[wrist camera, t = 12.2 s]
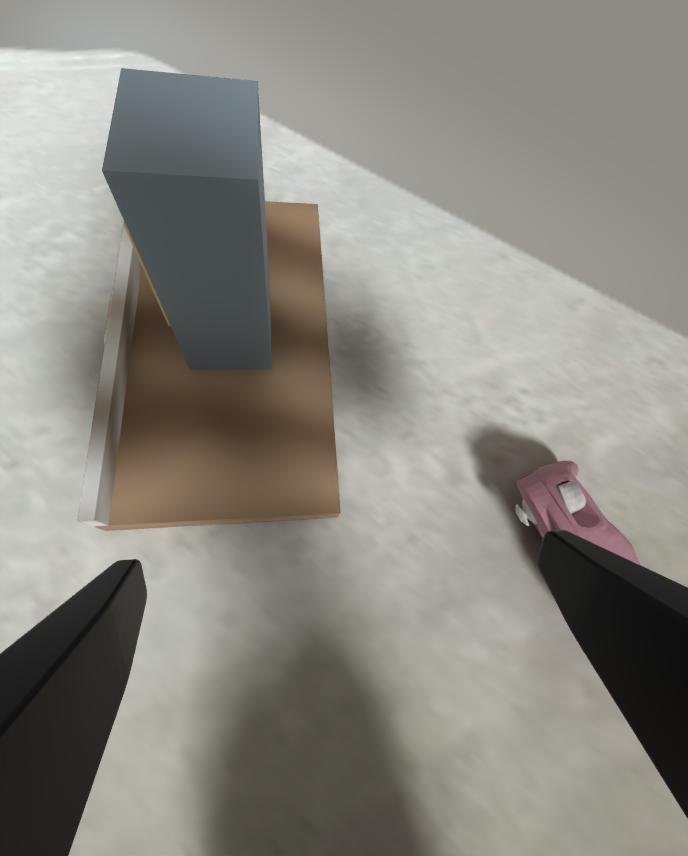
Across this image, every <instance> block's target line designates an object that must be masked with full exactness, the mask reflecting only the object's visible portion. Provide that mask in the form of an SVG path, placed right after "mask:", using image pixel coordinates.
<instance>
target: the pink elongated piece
mask: <svg viewBox="0 0 688 856" xmlns="http://www.w3.org/2000/svg"><path fill="white" fill-rule="evenodd" d="M578 471H579V469H578V467H577V464H575V463H574V462H572V461H560V462H556V463H551V464H547V465H542V466H540V467H539V468H538V469H536V470H535V471H534V472H532V473H531V474H530V475H528V476H526V477H524V478H522V479H520V480H518V481H517V486H518V489H519V492H520V494H521V496H522V500H523V501H522V510H521V508H520V507H519V506H518V504H516V511H515V512H516V514H517V516H518V518H519V519H520V521H521V522H523V523H524V524H525V525H527V526H529V523H528V521H527V519H529V520H530V521H531V522H533V524H534V526H535V528H536V529H537V531H538V533H539V535H540V537H541V538H542V540H543V538H544V535H545V533H546V532H547V531H550V530H566V531H569V532H571V533H573V534H575V535H577V536H579V537H581V538H584V539H586V540H588V541H590V542H592V543H594V544H596V545H598V546H600V547H603V548H605V549H607V550H609V551H611V552H613V553H615V554H617V555H620V556H622V557H624V558H626V559H628V560H630V561H632V562H634V563H636V564H639V565H640V563H639V561H638V558H637V556H636V553H635V551H634V549H633V547H632V545H631V543H630V542H629V541H628V539H627V538H626V537H625V536H624V535H623V534H622V533H621V532H620V531H619V530H618V529H617V528H616V527H615V526H614V525H613V524H611V523H610V522H609V521H608V520H607V519H606V518H605V517H604V515H603V514H602V513H601V511H600V510H599V508H598V507H597V505H596V504H595V502H594V501H593V499H592V498H591V497H590V495H589V494H588V493H587V491H586V490H585V489H584V488H583V487H582V485H581V484H580V483H579V482H578V480H577V479H576V478H575V477H576V476H577V474H578Z"/></svg>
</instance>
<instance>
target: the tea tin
mask: <svg viewBox="0 0 688 856" xmlns="http://www.w3.org/2000/svg"><path fill="white" fill-rule="evenodd" d="M258 96H259V95H258V81H250V80H240V79H229V78H219V77H207V76H197V75H187V74H176V73H165V72H155V71H144V70H134V69H123V68H121V73H120V78H119V83H118V89H117V94H116V99H115V105H114V110H113V115H112V121H111V126H110V131H109V136H108V142H107V147H106V152H105V158H104V163H103V168H102V171H103V174H104V176H105V178H106V181H107V183H108V185H109V187H110V190H111V192H112V194H113V196H114V199H115V201H116V203H117V206H118V208H119V210H120V212H121V215H122V217H123V219H124V221H125V222H124V227H125V230H126V232H127V234H128V236H129V238H130V241H131V243H132V245H133V247H134V250H135V252H136V254H137V256H138V259H139V261H140V263H141V265H142V268H143V270H144V272H145V274H146V276H147V279H148V281H149V283H150V285H151V288H152V290H153V292H154V294H155V297H156V299H157V301H158V303H159V306H160V308H161V310H162V312H163V315H164V317H165V319H166V321H167V323H168V326H171V328H172V330H173V333H174V335H175V337H176V340H177V342H178V344H179V346H180V349H181V351H182V353H183V355H184V358H185V360H186V362H187V365H188V367H189V369H190V370H255V369H272V351H271V299H270V282H269V265H268V248H267V231H266V214H265V197H264V180H263V163H262V146H261V129H260V112H259V97H258Z"/></svg>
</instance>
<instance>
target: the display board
mask: <svg viewBox="0 0 688 856" xmlns="http://www.w3.org/2000/svg"><path fill="white" fill-rule="evenodd" d="M265 214H266V231H267V248H268V265H269V282H270V299H271V351H272V369H255V370H190V369H189V367H188V365H187V362H186V360H185V358H184V355H183V353H182V351H181V349H180V346H179V344H178V342H177V340H176V337H175V335H174V333H173V330H172V328H171V326H168V323H167V321H166V319H165V317H164V315H163V312H162V310H161V308H160V306H159V303H158V301H157V299H156V297H155V294H154V292H153V290H152V288H151V285H150V283H149V281H148V279H147V276H146V274H145V272H144V270H143V268H142V265H141V263H140V261H139V259H138V256H137V254H136V252H135V250H134V247H133V245H132V243H131V241H130V238H129V236H128V234H127V232H126V230H125V227H124V224H123V231H122V237H121V244H120V250H119V256H118V263H117V269H116V276H115V282H114V288H113V294H111V297H110V304H109V310H108V316H107V322H106V329H105V335H104V341H103V344H104V345H105V346H104V352H103V359H102V365H101V372H100V378H99V384H98V391H97V397H96V404H95V410H94V416H93V423H92V429H91V436H90V442H89V448H88V455H87V461H86V468H85V474H84V480H83V487H82V493H81V500H80V506H79V512H78V519H77V521H79V522H82V523H85V524H87V525H90V526H93V527H96V528H99V529H102V530H105V531H108V530H126V529H143V528H161V527H178V526H195V525H213V524H230V523H247V522H265V521H282V520H300V519H317V518H334V517H338V515H339V514H340V500H339V486H338V473H337V459H336V446H335V432H334V418H333V405H332V391H331V378H330V364H329V350H328V337H327V323H326V310H325V296H324V283H323V269H322V255H321V242H320V228H319V215H318V204H303V203H284V202H266V201H265ZM124 222H125V221H124Z"/></svg>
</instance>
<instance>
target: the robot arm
mask: <svg viewBox="0 0 688 856" xmlns="http://www.w3.org/2000/svg"><path fill="white" fill-rule="evenodd" d="M538 565H539V569H540V571H541V573H542V575H543V577H544V579H545V581H546V583H547V585H548V587H549V589H550V591H551V593H552V595H553V597H554V599H555V601H556V603H557V605H558V607H559V609H560V611H561V613H562V615H563V617H564V619H565V621H566V622H567V624H568V626H569V628H570V630H571V632H572V633H573V635H574V637H575V638H576V640H577V642H578V643H579V645H580V646H581V648H582V650H583V651H584V653H585V654H586V656H587V658H588V659H589V661H590V663H591V664H592V666H593V667H594V669H595V671H596V672H597V674H598V675H599V677H600V679H601V680H602V682H603V683H604V685H605V687H606V688H607V690H608V691H609V693H610V695H611V696H612V698H613V699H614V701H615V703H616V704H617V706H618V708H619V709H620V711H621V712H622V714H623V716H624V717H625V719H626V720H627V722H628V724H629V725H630V727H631V728H632V730H633V732H634V733H635V735H636V736H637V738H638V740H639V741H640V743H641V744H642V746H643V748H644V749H645V751H646V753H647V754H648V756H649V757H650V759H651V761H652V762H653V764H654V765H655V767H656V769H657V770H658V772H659V773H660V775H661V777H662V778H663V780H664V781H665V783H666V785H667V786H668V788H669V789H670V791H671V793H672V794H673V796H674V797H675V799H676V801H677V802H678V804H679V806H680V807H681V809H682V810H683V812H684V814H685V815H686V817H687V818H688V588H687V587H685V586H683V585H681V584H679V583H677V582H675V581H672V580H670V579H668V578H666V577H664V576H662V575H660V574H658V573H655V572H653V571H651V570H649V569H647V568H645V567H643V566H641V565H639V564H636V563H634V562H632V561H630V560H628V559H626V558H624V557H622V556H620V555H617V554H615V553H613V552H611V551H609V550H607V549H605V548H603V547H600V546H598V545H596V544H594V543H592V542H590V541H588V540H586V539H584V538H581V537H579V536H577V535H575V534H573V533H571V532H569V531H566V530H550V531H547V532H546V533H545V535H544V538H543V541H542V545H541V549H540V552H539V556H538ZM146 599H147V589H146V584H145V579H144V575H143V570H142V565H141V563H140V561H139V560H137V559H133V560H120V561H117V562H115V563H114V564H112V565H111V566H110V567H108V568H107V569H106V570H105V571H103V572H102V573H101V574H100V575H98V576H97V577H96V578H95V579H93V580H92V581H91V582H90V583H88V584H87V585H86V586H85V587H83V588H82V589H81V590H80V591H78V592H77V593H76V594H75V595H73V596H72V597H71V598H70V599H68V600H67V601H66V602H64V603H63V604H62V605H61V606H59V607H58V608H57V609H56V610H54V611H53V612H52V613H51V614H49V615H48V616H47V617H46V618H44V619H43V620H42V621H41V622H39V623H38V624H37V625H36V626H34V627H33V628H32V629H31V630H29V631H28V632H27V633H26V634H24V635H23V636H22V637H20V638H19V639H18V640H17V641H15V642H14V643H13V644H12V645H10V646H9V647H8V648H7V649H5V650H4V651H3V652H2V653H0V856H68V855H69V852H70V849H71V846H72V843H73V840H74V837H75V835H76V832H77V829H78V826H79V823H80V820H81V817H82V814H83V811H84V808H85V805H86V802H87V799H88V797H89V794H90V791H91V788H92V785H93V782H94V779H95V776H96V773H97V770H98V767H99V764H100V761H101V758H102V756H103V753H104V750H105V747H106V744H107V741H108V738H109V735H110V732H111V729H112V726H113V723H114V720H115V718H116V715H117V712H118V709H119V706H120V703H121V700H122V697H123V694H124V691H125V688H126V685H127V682H128V678H129V675H130V671H131V667H132V662H133V658H134V654H135V649H136V645H137V640H138V636H139V631H140V627H141V623H142V618H143V614H144V609H145V605H146Z"/></svg>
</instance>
